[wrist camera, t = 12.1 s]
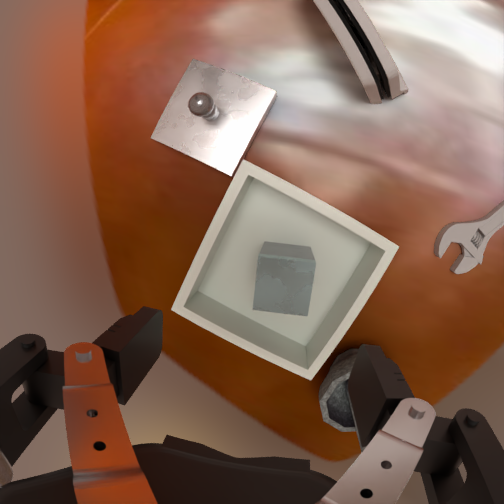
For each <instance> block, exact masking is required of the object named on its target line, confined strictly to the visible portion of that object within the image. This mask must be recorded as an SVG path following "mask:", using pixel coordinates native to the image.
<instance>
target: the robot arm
mask: <svg viewBox="0 0 504 504" xmlns="http://www.w3.org/2000/svg"><path fill="white" fill-rule="evenodd" d="M162 325H163V314H162V311H161V310H157V309H153V308H149V307H142V308H141V309H140V310H139V311H138V312H137V313H136V314H135V315H128V316H125V317H123V318H120V319H119V320H118V321H117V322H115V323H114V325H113V326H111V327H110V328H109V329H108V330H106V331H105V332H104V333H103V334H102V335H100V336H99V337H98V338H97V339H96V340H95V341H94V342H93V343H87V342H81V343H75V344H72V345H70V346H69V347H67V348H66V350H65V351H64V352H58V351H52V350H47V347H46V342H45V340H44V338H43V337H41V336H39V335H36V334H25V335H21V336H18V337H16V338H15V339H14V340H12V341H11V342H9V343H8V344H7V345H5V346H4V347H3V348H1V349H0V504H395V503H396V501H397V500H398V498H399V497H400V495H401V493H402V491H403V490H404V488H405V486H406V484H407V482H408V480H409V479H410V477H411V475H412V473H413V471H416V472H421V476H422V479H423V483H424V486H425V490H426V494H427V498H428V502H429V504H504V450H503V448H502V446H501V444H500V443H499V441H498V439H497V437H496V436H495V434H494V432H493V430H492V429H491V427H490V425H489V424H488V422H487V420H486V419H485V417H484V416H483V415H482V414H480V413H479V412H477V411H475V410H472V409H461V410H459V411H458V412H457V413H456V415H455V417H454V418H453V419H448V418H442V417H437V416H436V414H435V411H434V409H433V407H432V406H431V405H430V404H428V403H427V402H425V401H423V400H421V399H417V398H415V397H414V395H413V393H412V391H411V390H410V388H409V386H408V384H407V382H406V381H405V378H404V376H403V375H402V373H401V371H400V369H399V367H398V365H397V364H395V363H394V362H393V361H392V360H391V359H390V358H386V357H385V355H384V353H383V351H382V349H381V347H380V346H375V345H365V344H362V345H361V346H360V348H359V350H358V353H357V356H356V359H355V362H354V365H353V368H352V371H351V373H350V376H349V380H348V392H349V396H350V400H351V404H352V408H353V412H354V416H355V420H356V424H357V429H358V433H359V437H360V442H361V446H362V447H366V448H365V449H364V451H363V452H362V453H361V454H360V456H359V457H358V458H357V459H356V461H355V462H354V463H353V464H352V466H351V467H350V468H349V469H348V470H347V471H346V473H345V474H344V475H343V476H342V477H341V478H340V480H339V481H338V482H337V481H335V480H334V479H332V478H330V477H328V476H326V475H324V474H321V473H319V472H316V471H313V470H310V460H304V459H292V458H282V457H259V458H235V457H232V456H229V455H227V454H224V453H222V452H219V451H217V450H215V449H212V448H210V447H207V446H205V445H203V444H200V443H196V442H192V441H188V440H184V439H180V438H177V437H173V436H169V435H166V438H165V439H164V442H163V444H159V443H147V444H138V445H131V442H130V440H129V436H128V433H127V431H126V428H125V424H124V421H123V418H122V415H121V412H120V408H119V405H118V403H119V404H122V405H125V404H126V403H127V401H128V400H129V399H130V397H131V396H132V394H133V393H134V392H135V390H136V389H137V387H138V386H139V384H140V383H141V382H142V380H143V379H144V377H145V376H146V375H147V373H148V372H149V370H150V369H151V368H152V366H153V365H154V363H155V362H156V360H157V359H158V358H159V356H160V353H161V349H162ZM21 384H22V385H23V388H24V392H23V393H22V394H21V395H20V396H19V397H18V398H17V399H16V400H15V401H14V402H13V403H11V398H12V395H13V393H14V391H15V390H16V389H17V388H18V387H19V386H20V385H21ZM58 408H59V409H64V413H65V423H66V431H67V439H68V446H69V452H70V458H71V464H72V466H71V467H67V468H64V469H60V470H57V471H54V472H50V473H46V474H42V475H38V476H34V477H30V478H27V479H22V480H17V481H13V482H11V480H12V477H13V470H12V466H13V465H14V463H15V462H16V460H17V459H18V458H19V457H20V455H21V454H22V453H23V451H24V450H25V449H26V447H27V446H28V445H29V444H30V443H31V441H32V440H33V438H34V437H35V436H36V435H37V434H38V432H39V431H40V430H41V429H42V427H43V426H44V425H45V424H46V422H47V421H48V420H49V419H50V417H51V416H52V415H53V414H54V413H55V411H56V410H57V409H58ZM462 462H463V464H464V466H465V469H466V471H467V478H466V481H465V483H464V482H463V479H462V477H461V474H460V471H459V469H458V467H459V466H460V465H461V463H462Z"/></svg>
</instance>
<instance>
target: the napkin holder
mask: <svg viewBox="0 0 504 504" xmlns="http://www.w3.org/2000/svg"><path fill="white" fill-rule="evenodd" d="M313 2H314V3H315V5H316V6H317V8H318V9H319V11H320V12H321V14H322V15H323V17H324V18H325V20H326V22H327V23H328V25H329V26H330V28H331V30H332V31H333V33H334V35H335V36H336V38H337V40H338V41H339V43H340V45H341V46H342V48H343V50H344V52H345V53H346V55H347V57H348V59H349V61H350V63H351V64H352V66H353V68H354V70H355V72H356V74H357V76H358V78H359V80H360V82H361V84H362V86H363V88H364V90H365V92H366V94H367V96H368V98H369V100H370V102H371V104H378V103H382V102H381V100H382V99H384V97H383V93H382V89H381V86H380V82H379V80H380V81H381V85H382V87H383V89H384V91H385V93H386V95H387V97H391V98H392V99H394V98H395V97H397V96H399V95H400V94H402V93H404V94H406V93H407V92H408V88H407V86H406V84H405V82H404V80H403V78H402V76H401V74H400V72H399V70H398V68H397V66H396V64H395V62H394V60H393V59H392V57H391V55H390V53H389V51H388V50H387V48H386V46H385V44H384V42H383V40H382V39H381V37H380V35H379V33H378V32H377V30H376V28H375V27H374V25H373V23H372V22H371V20H370V18H369V17H368V15H367V14H366V12H365V11H364V9H363V8H362V6H361V5H360V3H359V2H358V1H357V0H313ZM349 25H352V26H353V27H354V28H355V29H356V31H357V32H358V34H359V36H360V37H361V39H362V41H363V42H364V44H365V49H364V50H363V48H362V46H361V44H360V42H359V41H358V39H357V37H356V36H355V34H354V32H353V31H352V29H351V27H350V26H349Z"/></svg>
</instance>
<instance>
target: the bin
mask: <svg viewBox="0 0 504 504" xmlns="http://www.w3.org/2000/svg"><path fill="white" fill-rule="evenodd" d="M265 241H267V242H275V243H283V244H292V245H300V246H308V247H311V250H312V252H313V255H314V258H315V261H316V268H315V274H314V281H313V287H312V293H311V299H310V305H309V311H308V316H299V315H290V314H282V313H274V312H266V311H258V310H253V300H254V291H255V281H256V272H257V262H258V255H259V253H260V251H261V248H262V246H263V244H264V242H265ZM398 248H399V246H397V245H396V244H394V243H392V242H391V241H389V240H388V239H386V238H384V237H383V236H381V235H380V234H378V233H376V232H375V231H373V230H371V229H370V228H368V227H366V226H365V225H363V224H361V223H360V222H358V221H356V220H355V219H353V218H351V217H350V216H348V215H346V214H344V213H343V212H341V211H339V210H338V209H336V208H334V207H332V206H331V205H329V204H327V203H325V202H323V201H322V200H320V199H318V198H316V197H314V196H313V195H311V194H309V193H307V192H305V191H304V190H302V189H300V188H298V187H296V186H294V185H292V184H290V183H289V182H287V181H285V180H283V179H281V178H279V177H277V176H275V175H273V174H271V173H269V172H267V171H266V170H264V169H262V168H260V167H258V166H256V165H254V164H252V163H250V162H248V161H246V160H244V159H243V161H242V163H241V165H240V167H239V168H238V170H237V172H236V174H235V176H234V178H233V180H232V182H231V184H230V186H229V188H228V190H227V192H226V194H225V196H224V198H223V200H222V202H221V204H220V206H219V208H218V210H217V212H216V214H215V216H214V218H213V220H212V222H211V225H210V227H209V229H208V231H207V233H206V235H205V237H204V239H203V241H202V243H201V245H200V248H199V250H198V252H197V254H196V256H195V258H194V260H193V263H192V265H191V267H190V269H189V271H188V273H187V276H186V278H185V280H184V282H183V284H182V286H181V289H180V291H179V293H178V295H177V298H176V300H175V302H174V304H173V307H172V309H171V310H172V311H174V312H176V313H177V314H179V315H181V316H183V317H185V318H186V319H188V320H190V321H192V322H194V323H195V324H197V325H199V326H201V327H203V328H205V329H206V330H208V331H210V332H212V333H214V334H216V335H218V336H220V337H222V338H223V339H225V340H227V341H229V342H231V343H233V344H235V345H237V346H239V347H241V348H243V349H245V350H247V351H249V352H251V353H253V354H255V355H257V356H259V357H261V358H263V359H265V360H267V361H270V362H272V363H274V364H276V365H278V366H280V367H282V368H284V369H287V370H289V371H291V372H293V373H295V374H298V375H300V376H302V377H304V378H307V379H309V380H312V378H313V377H314V376H315V374H316V373H317V372H318V370H319V369H320V368H321V366H322V365H323V364H324V362H325V361H326V360H327V358H328V357H329V356H330V354H331V353H332V351H333V350H334V349H335V347H336V346H337V345H338V343H339V342H340V340H341V339H342V337H343V336H344V335H345V333H346V332H347V330H348V329H349V327H350V326H351V324H352V323H353V321H354V320H355V318H356V317H357V315H358V314H359V312H360V311H361V309H362V308H363V306H364V305H365V303H366V301H367V300H368V298H369V297H370V295H371V294H372V292H373V290H374V289H375V287H376V286H377V284H378V282H379V281H380V279H381V277H382V276H383V274H384V272H385V271H386V269H387V267H388V266H389V264H390V262H391V260H392V259H393V257H394V255H395V253H396V252H397V250H398Z"/></svg>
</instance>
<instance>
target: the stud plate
mask: <svg viewBox="0 0 504 504" xmlns="http://www.w3.org/2000/svg"><path fill="white" fill-rule="evenodd" d="M276 98H277V91H275V90H273V89H271V88H268V87H266V86H264V85H261V84H259V83H257V82H254V81H252V80H249V79H247V78H245V77H242V76H240V75H237V74H234V73H232V72H229V71H227V70H224V69H221V68H218V67H216V66H213V65H210V64H207V63H204V62H201V61H198V60H195V59H193V60H192V61H191V63H190V65H189V66H188V68H187V70H186V72H185V73H184V75H183V77H182V79H181V80H180V82H179V84H178V86H177V87H176V89H175V91H174V93H173V95H172V97H171V98H170V100H169V102H168V104H167V106H166V108H165V110H164V112H163V114H162V116H161V118H160V120H159V122H158V124H157V126H156V128H155V130H154V132H153V134H152V136H151V138H152V139H154V140H156V141H158V142H161V143H163V144H165V145H167V146H169V147H171V148H174V149H176V150H178V151H180V152H182V153H184V154H186V155H189V156H191V157H193V158H195V159H197V160H199V161H201V162H203V163H205V164H207V165H209V166H212V167H214V168H216V169H218V170H220V171H222V172H224V173H226V174H228V175H230V176H233V177H234V176H235V174H236V172H237V170H238V168H239V167H240V165H241V163H242V161H243V159H244V158H245V156H246V154H247V152H248V150H249V148H250V146H251V144H252V142H253V140H254V139H255V137H256V135H257V133H258V131H259V129H260V127H261V125H262V124H263V122H264V120H265V118H266V116H267V114H268V113H269V111H270V109H271V107H272V105H273V104H274V102H275V100H276Z"/></svg>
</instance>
